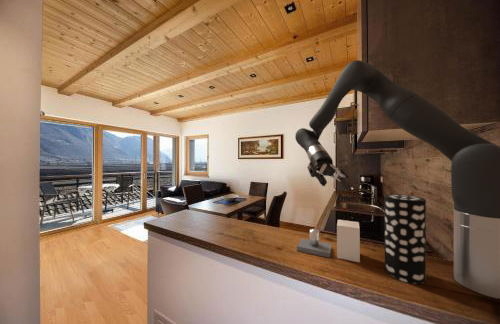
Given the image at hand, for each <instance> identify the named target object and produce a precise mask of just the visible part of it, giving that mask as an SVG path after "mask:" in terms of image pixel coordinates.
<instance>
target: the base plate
mask: <svg viewBox="0 0 500 324" xmlns="http://www.w3.org/2000/svg"><path fill="white" fill-rule="evenodd" d="M296 251H297V252H301V253H305V254H309V255H314V256H320V257H324V258H328V259H330V257H331V252H332V243H329V242H323V241H320V230H319V229H318V228H309V239H308V238H307V239H306V238H301V239H300V240H299V242H298V243H297V245H296Z"/></svg>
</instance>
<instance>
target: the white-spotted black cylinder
mask: <svg viewBox="0 0 500 324" xmlns="http://www.w3.org/2000/svg"><path fill="white" fill-rule="evenodd" d="M426 209H427V199H426V198H424V197H420V196H415V195H408V194H385V195H384V271H385V272H386V273H387V274H388V275H390V276H391V277H393V278H395V279H396V280H398V281H400V282H401V281H402V282H404V283H409V284H414V285H421V284H424V283H425V282H426V279H427V277H426V276H427V273H426V272H427V266H426V265H427V256H426V254H427V251H426V250H427V243H426V242H427V238H426V237H427V230H426V229H427V210H426Z"/></svg>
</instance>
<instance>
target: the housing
mask: <svg viewBox="0 0 500 324" xmlns="http://www.w3.org/2000/svg"><path fill="white" fill-rule="evenodd" d="M360 234H361V231H360V222H359V221H353V220H351V221H350V220H346V219H345V220H344V219H337V223H336V259H340V260H346V261H349V262H350V261H351V262H356V263H361V256H360V255H361V252H360V251H361V250H360V249H361V247H360V246H361V243H360V242H361V240H360V239H361V236H360Z"/></svg>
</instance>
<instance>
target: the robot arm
mask: <svg viewBox="0 0 500 324" xmlns="http://www.w3.org/2000/svg"><path fill="white" fill-rule="evenodd" d="M351 91H355V92H357V91H358V92H360V93H362V94H364V95H365V96H367V97H368V98H370V99H372V100H373V101H375V103H376V104H377V106H378V107H379V108H380V110H381V112H382V114H384V115H385V116H386V118H387V119H389V120H390V121H391V122H392V123H394V124H395V125H396V126H397V127H398V128H400V129H401V130H403V131H404V132H406V133H407V134H409V135H411V136H413V137H415V138H417V139H419V140H421V141H423V142H424V143H426V144H429V145H430V146H432V147H433V148H435V149H436V150H438V151H439V152H440V153H441V154H443V155H444V156H445V157H446V158H447V159H449V160H450V161H451V164H450V165H451V166H450V181H451V183H450V184H451V186H450V188H451V198H452V201H453V278H454V280H455V281H456V282H457V283H458V284H460V285H462V286H463V287H465V288H466V289H469V290H471V291H473V292H476V293H478V294H480V295H483V296H486V297H490V298H493V299H498V298H499V300H500V145H497V144H496V143H494V142H492V141H489V140H487V139H485V138H484V137H481V136H479V135H478V134H475V133H474V132H473V131H472V132H471V131H470V130H468V129H467V128H465V127H464V126H462V125H461V124H459V123H458V122H457V121H456V120H455V119H453V118H452V117H451V116H450V115H448V114H447V113H446V112H445V111H444V110H443V109H441V108H440V107H439V106H437V105H436V104H434V103H433V102H431V101H430V100H429V99H427V98H425V97H423V96H422V95H420V94H419V93H417V92H415V91H413V90H411V89H410V88H407V87H406V86H403V85H401V84H398V83H396V82H394V81H393V80H391V79H389V77H387V76H386V75H385V74H383V72H381V70H379V69H378V68H377V67H376V66H374V65H373V64H371V63H368V62H366V61H362V60H353V61H351V62H349V63H348V64H346V65H345V67H344V68H343V69H342V71H341V73H340V74H339V75H338V77H337V80H336V81H335V83H334V85H333V86H332V88H331V90H330V91H329V93H328V95H327V97H326V99H325V100H324V102H323V104H322V105H321V107H320V108H319V109H318V110H317V112H316V113H315V114H314V115H313V117H312V118H311V119H310V120H309V122H308V123H309V124H308V125H309V127H310V129H311V130H310V129H308V128H304V127H303V128H301V127H300V128H299V129H297V131H296V132H295V141H296V143H297V144H298V145H299V146H300V147H301V148H302V149H303V150H304V151H305V153H306V155H307V157H308V160H309V163H308V165H307V170H308V173H309V175H310V177H311V178H315V179H317V180H318V183H319V184H320V185H321V186H322V187H325V186H326V185H327V183H328V182H327V179H326V177H331V178H332V179H333V180H337V181H339V183H340V185H341V186H342V187H343V189H344V190H347V189H349V187H350V183H349V181H348V179H349V178H350V175H349V173H347V171H346V169H344V167H343V166H339V167H336V166H335V165H334V161H333V158H332V157H331V156H330V153H329V152H328V151H327V150H326V149H325V147H324V146H323V145H322V144H321V142H320V141H319V140H320V137H321V135H322V133H323V131H324V130H325V128H326V127H327V126H328V125H329V124H330V123H331V122H332V121H333V119H334V118H335V116H336V114H337V112H338V109H339V105H340V104H341V103H342V101H343V99H344V98H345V97H346V96H347V95H348V94H349V93H350V92H351ZM335 173H336V174H335Z"/></svg>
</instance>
